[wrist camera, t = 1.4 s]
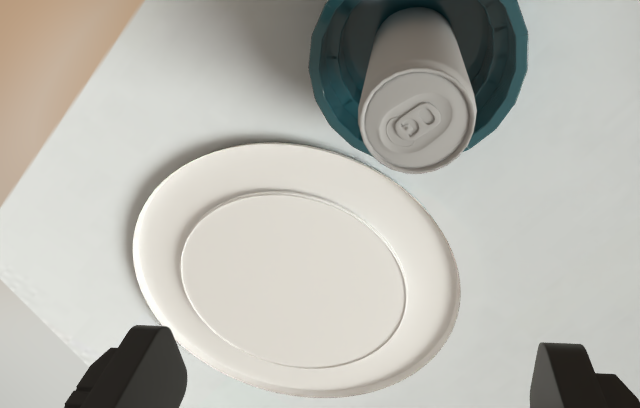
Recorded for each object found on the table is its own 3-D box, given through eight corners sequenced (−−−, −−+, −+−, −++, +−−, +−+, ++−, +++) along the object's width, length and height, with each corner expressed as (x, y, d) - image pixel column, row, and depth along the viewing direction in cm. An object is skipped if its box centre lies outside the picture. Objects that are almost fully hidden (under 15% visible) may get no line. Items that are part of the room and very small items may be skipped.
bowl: (287, 45, 31) (268, 69, 27) (422, -110, 25) (424, -111, 21) (407, 160, 34) (406, 197, 30) (550, 43, 28) (575, 69, 24)
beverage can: (357, 39, 30) (331, 113, 20) (424, -15, 27) (433, 37, 17) (403, 99, 31) (401, 196, 21) (470, 52, 29) (502, 136, 19)
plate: (250, 413, 53) (248, 418, 52) (71, 218, 41) (66, 223, 41) (508, 355, 42) (509, 362, 41) (363, 72, 31) (362, 76, 30)
